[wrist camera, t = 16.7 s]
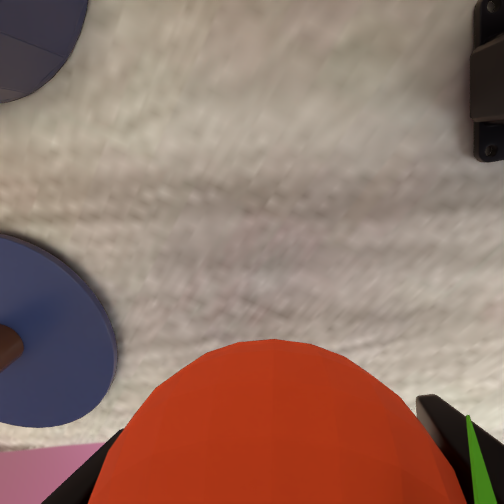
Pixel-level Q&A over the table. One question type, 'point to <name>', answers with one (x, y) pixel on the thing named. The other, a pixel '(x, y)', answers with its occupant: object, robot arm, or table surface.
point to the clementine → (280, 437)
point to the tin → (35, 42)
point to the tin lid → (49, 340)
